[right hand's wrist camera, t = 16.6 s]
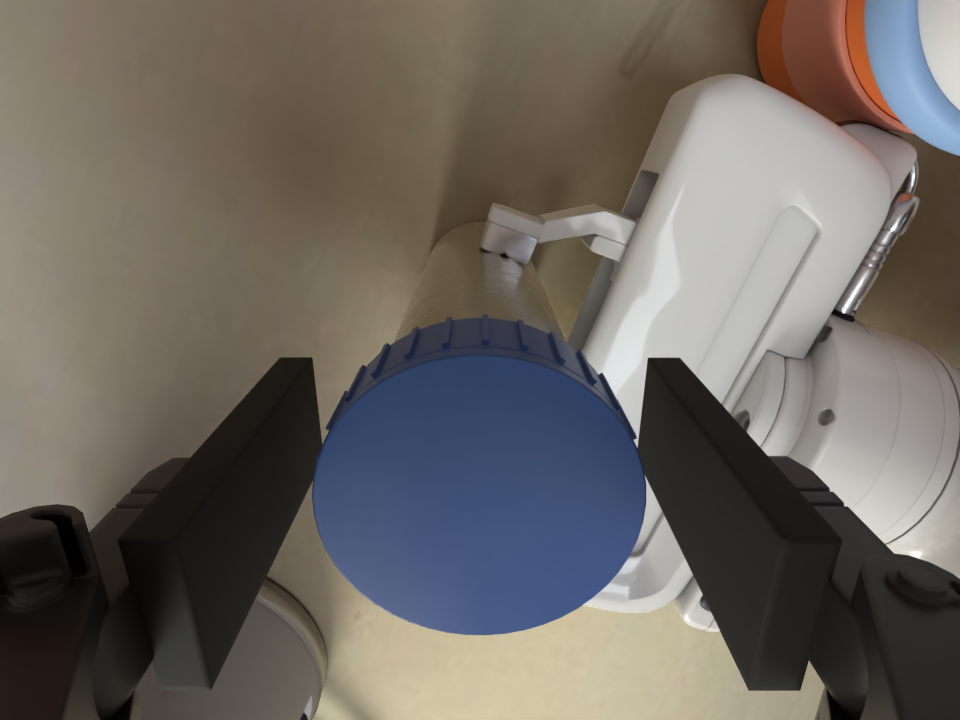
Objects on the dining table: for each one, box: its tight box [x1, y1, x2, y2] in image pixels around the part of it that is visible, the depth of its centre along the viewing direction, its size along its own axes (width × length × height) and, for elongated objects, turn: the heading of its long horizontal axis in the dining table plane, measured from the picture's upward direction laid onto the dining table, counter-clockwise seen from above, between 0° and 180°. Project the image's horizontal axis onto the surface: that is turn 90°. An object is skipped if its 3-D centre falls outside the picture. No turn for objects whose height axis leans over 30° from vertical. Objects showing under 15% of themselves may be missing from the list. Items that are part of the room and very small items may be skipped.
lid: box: [312, 314, 646, 635], centre depth 11 cm, size 6×6×2 cm
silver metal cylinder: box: [394, 221, 565, 343], centre depth 19 cm, size 5×5×18 cm
